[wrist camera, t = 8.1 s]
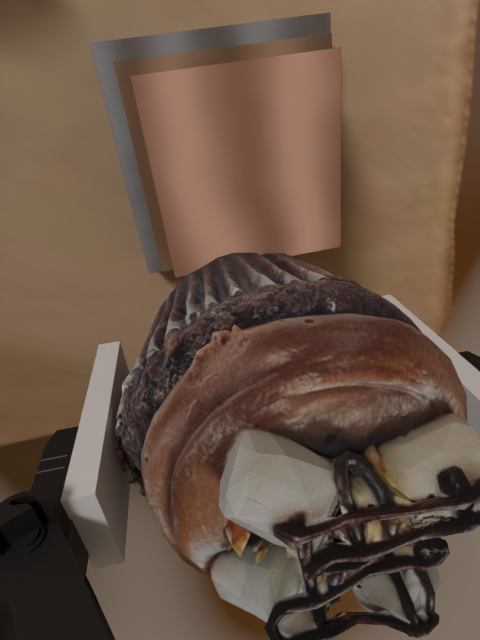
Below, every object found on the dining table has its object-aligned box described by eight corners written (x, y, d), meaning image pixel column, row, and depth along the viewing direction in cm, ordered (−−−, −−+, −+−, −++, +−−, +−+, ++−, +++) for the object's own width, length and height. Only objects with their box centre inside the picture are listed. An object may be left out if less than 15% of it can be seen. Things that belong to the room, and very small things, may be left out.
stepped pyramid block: (149, 261, 38) (147, 315, 29) (95, 47, 30) (67, 25, 20) (320, 230, 40) (372, 272, 30) (315, 19, 31) (385, -14, 22)
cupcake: (94, 248, 13) (-26, 526, 5) (372, 207, 14) (694, 376, 6) (153, 451, 18) (146, 775, 9) (358, 410, 19) (522, 669, 10)
